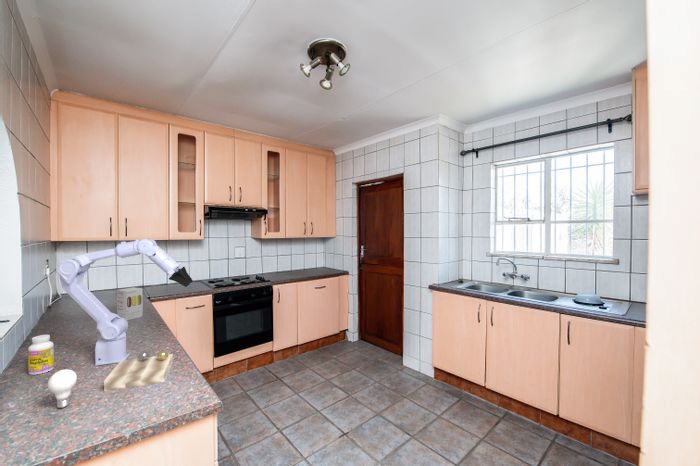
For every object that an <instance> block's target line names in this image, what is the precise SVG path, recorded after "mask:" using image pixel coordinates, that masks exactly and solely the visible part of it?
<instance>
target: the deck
mask: <svg viewBox="0 0 700 466" xmlns="http://www.w3.org/2000/svg"><path fill="white" fill-rule="evenodd" d="M173 354H174V353H168V357H167V358H166V359H165V360H159V359H158V358H157V355H152V356H149V358H148V359H147V360H145V361H140V360H139V359H138V357H137V358H129V359H126V360H121V361H120V362H119V363H117V365H116V366H115V367H114V368H113V369H112V371H111V372H110V373H109V374H108V375H107V377H106V378H105V379H104V380H103V390H104V391H103V392H110V391H116V390H123V389H130V388H137V387H142V386H147V385H148V386H150V385H155V384H161V383H165V382H166V380H167V377H168V375H169V373H170V371H171V368H172V366H173V364H174V355H173Z"/></svg>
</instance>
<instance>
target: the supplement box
mask: <svg viewBox="0 0 700 466" xmlns="http://www.w3.org/2000/svg"><path fill="white" fill-rule="evenodd" d="M143 298H144V297H143V288H142V287H136V286H135V287H134V286H133V287H127V288H121V289H116V314H117V315H118V316H119V317H121V318H124V319H125V320H127V321H131V320H134V319H135V320H136V319H139V318H143V315H144V312H143V307H144V306H143V305H144V304H143V303H144V301H143V300H144V299H143Z"/></svg>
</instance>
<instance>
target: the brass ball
mask: <svg viewBox="0 0 700 466" xmlns="http://www.w3.org/2000/svg"><path fill="white" fill-rule="evenodd" d="M168 354H169V352H168V351H167V350H164V349H163V350H160V351H159V352H158V353H157V355H156V356H157V358H158V359H159V360H165V359H166V358H167V357H168Z"/></svg>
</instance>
